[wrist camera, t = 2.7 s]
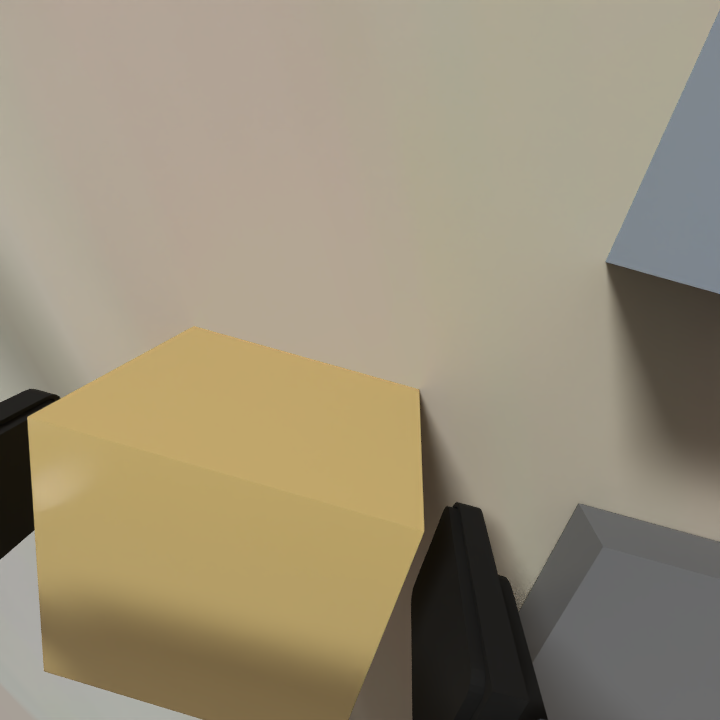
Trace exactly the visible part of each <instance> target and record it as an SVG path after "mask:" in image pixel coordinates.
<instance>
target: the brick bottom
mask: <svg viewBox="0 0 720 720" xmlns="http://www.w3.org/2000/svg"><path fill="white" fill-rule="evenodd" d="M27 421H28V436H29V451H30V466H31V481H32V497H33V512H34V527H35V542H36V557H37V572H38V587H39V602H40V617H41V633H42V648H43V663H44V671H45V672H48V673H51V674H55V675H58V676H61V677H65V678H68V679H71V680H75V681H78V682H81V683H84V684H88V685H91V686H94V687H98V688H101V689H104V690H107V691H111V692H114V693H117V694H121V695H124V696H127V697H131V698H134V699H137V700H140V701H144V702H147V703H150V704H154V705H157V706H160V707H163V708H167V709H170V710H173V711H177V712H180V713H183V714H187V715H190V716H193V717H196V718H200V719H203V720H349V717H350V715H351V712H352V710H353V707H354V705H355V702H356V700H357V697H358V695H359V692H360V690H361V687H362V685H363V682H364V680H365V677H366V675H367V672H368V670H369V668H370V665H371V663H372V660H373V658H374V655H375V653H376V650H377V648H378V645H379V643H380V640H381V638H382V635H383V633H384V630H385V628H386V625H387V623H388V620H389V618H390V615H391V613H392V610H393V608H394V606H395V603H396V601H397V598H398V596H399V593H400V591H401V588H402V586H403V583H404V581H405V578H406V576H407V573H408V571H409V568H410V566H411V563H412V561H413V558H414V556H415V553H416V551H417V548H418V546H419V543H420V541H421V539H422V536H423V534H424V508H423V481H422V454H421V426H420V399H419V389H416V388H412V387H408V386H405V385H401V384H398V383H394V382H391V381H387V380H384V379H380V378H376V377H373V376H369V375H366V374H362V373H359V372H355V371H351V370H348V369H344V368H341V367H337V366H334V365H330V364H327V363H323V362H319V361H316V360H312V359H309V358H305V357H302V356H298V355H295V354H291V353H287V352H284V351H280V350H277V349H273V348H270V347H266V346H262V345H259V344H255V343H252V342H248V341H245V340H241V339H238V338H234V337H230V336H227V335H223V334H220V333H216V332H213V331H209V330H205V329H202V328H198V327H195V326H193V327H192V328H190V329H188V330H186V331H184V332H182V333H180V334H179V335H177V336H175V337H173V338H171V339H169V340H168V341H166V342H164V343H162V344H160V345H158V346H157V347H155V348H153V349H151V350H149V351H147V352H146V353H144V354H142V355H140V356H138V357H136V358H135V359H133V360H131V361H129V362H127V363H125V364H123V365H122V366H120V367H118V368H116V369H114V370H112V371H111V372H109V373H107V374H105V375H103V376H101V377H100V378H98V379H96V380H94V381H92V382H90V383H89V384H87V385H85V386H83V387H81V388H79V389H78V390H76V391H74V392H72V393H70V394H68V395H66V396H65V397H63V398H61V399H59V400H57V401H55V402H54V403H52V404H50V405H48V406H46V407H44V408H43V409H41V410H39V411H37V412H35V413H33V414H32V415H30V416H28V417H27Z"/></svg>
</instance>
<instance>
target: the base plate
mask: <svg viewBox="0 0 720 720" xmlns="http://www.w3.org/2000/svg"><path fill="white" fill-rule="evenodd" d="M519 616H520V620H521V624H522V627H523V631H524V634H525V638H526V642H527V645H528V649H529V653H530V656H531V660H532V663H533V667H534V671H535V674H536V678H537V681H538V685H539V689H540V692H541V696H542V700H543V703H544V707H545V710H546V714H547V718H548V720H720V542H718V541H714V540H710V539H707V538H703V537H699V536H696V535H692V534H688V533H685V532H681V531H678V530H674V529H670V528H667V527H663V526H659V525H656V524H652V523H648V522H645V521H641V520H637V519H634V518H630V517H626V516H623V515H619V514H616V513H612V512H608V511H605V510H601V509H597V508H594V507H590V506H586V505H583V504H578V506H577V507H576V509H575V511H574V513H573V515H572V517H571V518H570V520H569V522H568V524H567V526H566V527H565V529H564V531H563V533H562V535H561V537H560V538H559V540H558V542H557V544H556V546H555V547H554V549H553V551H552V553H551V555H550V557H549V558H548V560H547V562H546V564H545V566H544V567H543V569H542V571H541V573H540V575H539V577H538V578H537V580H536V582H535V584H534V586H533V587H532V589H531V591H530V593H529V595H528V597H527V598H526V600H525V602H524V604H523V606H522V607H521V609H520V611H519Z"/></svg>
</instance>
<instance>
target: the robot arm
mask: <svg viewBox="0 0 720 720" xmlns="http://www.w3.org/2000/svg"><path fill="white" fill-rule="evenodd" d="M59 399H61V398H60V397H59V396H57V395H55V394H51V393H47V392H44V391H40V390H36V389H29V390H25V391H23V392H21V393H19V394H17V395H15V396H13V397H11V398H9V399H7V400H4V401H2V402H0V559H1V558H3V557H4V556H5V555H6V554H7V553H8V552H10V551H11V550H12V549H13V548H14V547H15V546H17V545H18V544H19V543H20V542H21V541H22V540H23V539H25V538H26V537H27V536H28V535H29V534H30V533H32V532H33V531H34V530H35V527H34V512H33V497H32V481H31V466H30V451H29V436H28V421H27V417H28V416H30V415H32V414H33V413H35V412H37V411H39V410H41V409H43V408H44V407H46V406H48V405H50V404H52V403H54V402H55V401H57V400H59ZM411 629H412V716H413V720H548V718H547V714H546V710H545V707H544V703H543V700H542V696H541V692H540V689H539V685H538V681H537V678H536V674H535V671H534V667H533V663H532V660H531V656H530V653H529V649H528V645H527V642H526V638H525V634H524V631H523V627H522V624H521V620H520V616H519V613H518V609H517V606H516V602H515V598H514V595H513V591H512V588H511V585H510V583H509V581H508V579H507V578H506V577H503V576H500V575H498V574H497V570H496V566H495V562H494V558H493V554H492V549H491V545H490V541H489V537H488V533H487V529H486V525H485V521H484V517H483V513H482V511H481V509H480V508H477V507H473V506H469V505H466V504H462V503H458V502H457V503H455V504H454V506H453V508H452V507H448V506H446V507H445V509H444V511H443V514H442V516H441V519H440V521H439V524H438V526H437V529H436V531H435V534H434V536H433V539H432V542H431V544H430V547H429V549H428V552H427V554H426V557H425V559H424V562H423V564H422V567H421V569H420V572H419V574H418V577H417V579H416V582H415V584H414V587H413V592H412V599H411Z"/></svg>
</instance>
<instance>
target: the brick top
mask: <svg viewBox="0 0 720 720" xmlns="http://www.w3.org/2000/svg"><path fill="white" fill-rule="evenodd" d="M606 262H608V263H611V264H615V265H618V266H622V267H626V268H629V269H633V270H636V271H640V272H643V273H647V274H651V275H654V276H658V277H661V278H665V279H668V280H672V281H675V282H679V283H683V284H686V285H690V286H693V287H697V288H700V289H704V290H708V291H711V292H715V293H718V294H720V11H719V13H718V15H717V17H716V19H715V22H714V24H713V26H712V28H711V30H710V33H709V35H708V37H707V39H706V41H705V44H704V46H703V48H702V50H701V52H700V55H699V57H698V59H697V61H696V63H695V66H694V68H693V70H692V72H691V74H690V77H689V79H688V81H687V83H686V86H685V88H684V90H683V92H682V94H681V97H680V99H679V101H678V103H677V105H676V108H675V110H674V112H673V114H672V116H671V119H670V121H669V123H668V125H667V127H666V130H665V132H664V134H663V136H662V138H661V141H660V143H659V145H658V147H657V149H656V152H655V154H654V156H653V158H652V161H651V163H650V165H649V167H648V169H647V172H646V174H645V176H644V178H643V180H642V183H641V185H640V187H639V189H638V191H637V194H636V196H635V198H634V200H633V202H632V205H631V207H630V209H629V211H628V213H627V216H626V218H625V220H624V222H623V224H622V227H621V229H620V231H619V233H618V235H617V238H616V240H615V242H614V244H613V247H612V249H611V251H610V253H609V255H608V258H607V260H606Z"/></svg>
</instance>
